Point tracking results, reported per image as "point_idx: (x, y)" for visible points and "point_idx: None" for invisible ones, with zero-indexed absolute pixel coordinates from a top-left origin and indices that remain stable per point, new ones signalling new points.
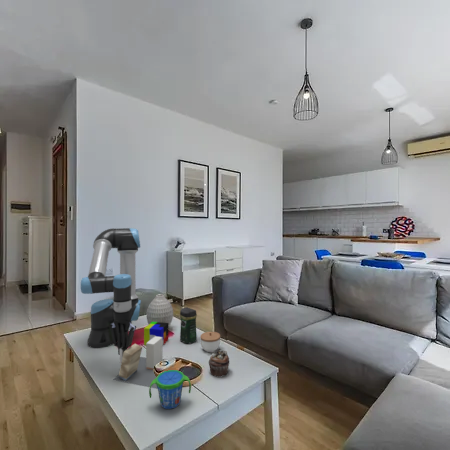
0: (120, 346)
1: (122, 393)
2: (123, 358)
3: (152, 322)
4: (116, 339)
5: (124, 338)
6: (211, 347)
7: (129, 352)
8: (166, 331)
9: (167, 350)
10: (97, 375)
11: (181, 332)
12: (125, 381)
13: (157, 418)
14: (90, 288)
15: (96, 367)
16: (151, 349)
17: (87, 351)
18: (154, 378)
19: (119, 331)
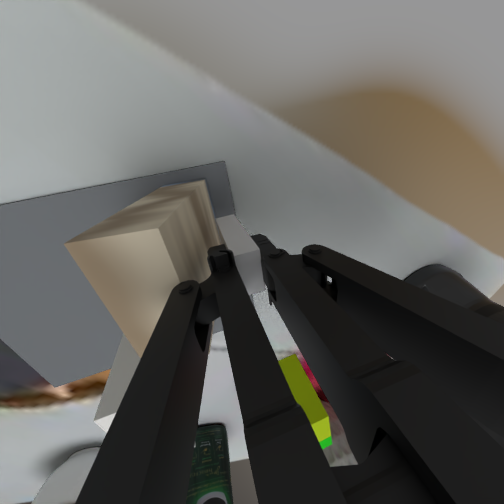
0: (265, 267)
1: (77, 95)
2: (169, 208)
3: (328, 443)
4: (342, 291)
5: (230, 347)
6: (43, 487)
7: (115, 256)
8: None
9: (211, 382)
10: (310, 159)
11: (216, 460)
12: (160, 180)
13: None
14: None
15: (350, 197)
16: (124, 374)
17: (430, 246)
18: (65, 264)
19: (384, 422)
